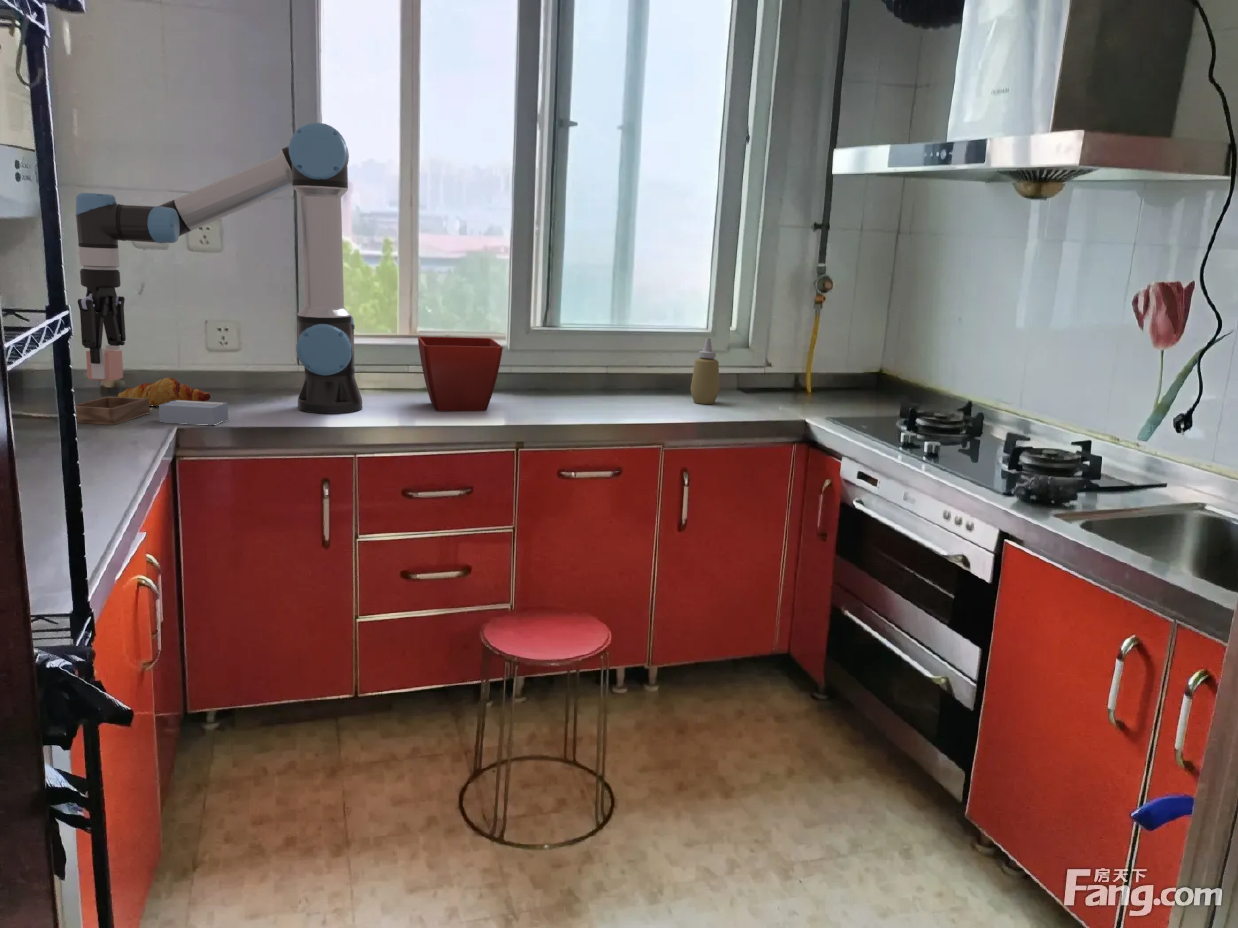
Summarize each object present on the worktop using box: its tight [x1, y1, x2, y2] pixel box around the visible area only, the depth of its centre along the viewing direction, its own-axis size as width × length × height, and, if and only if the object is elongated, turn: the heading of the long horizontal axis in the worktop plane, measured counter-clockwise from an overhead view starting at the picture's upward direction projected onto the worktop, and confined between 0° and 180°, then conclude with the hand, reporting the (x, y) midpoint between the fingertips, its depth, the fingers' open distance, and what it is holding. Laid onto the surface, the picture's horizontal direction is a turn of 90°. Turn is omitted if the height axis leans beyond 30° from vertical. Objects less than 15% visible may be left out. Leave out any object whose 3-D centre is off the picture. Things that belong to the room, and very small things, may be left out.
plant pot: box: [417, 336, 504, 412], centre depth 245 cm, size 19×19×17 cm
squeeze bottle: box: [690, 338, 720, 405], centre depth 270 cm, size 8×8×18 cm
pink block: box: [85, 348, 124, 382], centre depth 211 cm, size 5×5×6 cm
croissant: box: [117, 377, 211, 406], centre depth 232 cm, size 21×10×8 cm, turn 97°
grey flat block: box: [158, 400, 229, 425], centre depth 213 cm, size 12×7×4 cm, turn 86°
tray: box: [75, 395, 151, 426], centre depth 213 cm, size 10×14×3 cm
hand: (106, 376), depth 212 cm, fingers closed on pink block, 5 cm apart
